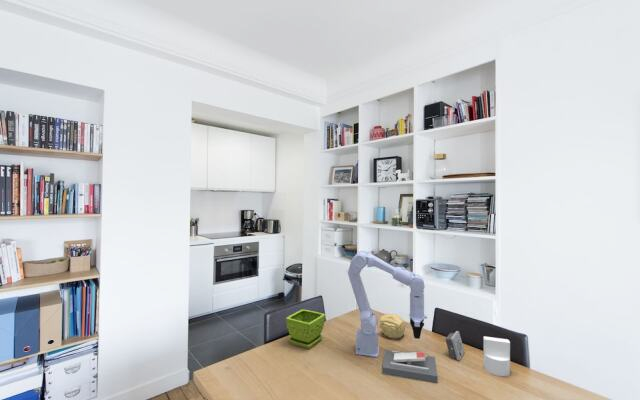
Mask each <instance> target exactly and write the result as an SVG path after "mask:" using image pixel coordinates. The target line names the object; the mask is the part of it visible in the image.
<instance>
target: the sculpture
mask: <svg viewBox="0 0 640 400" xmlns="http://www.w3.org/2000/svg"><path fill="white" fill-rule="evenodd" d="M379 327H380V328H381V331H382V333H383V334H384V335H385V336H386V338H390V339H394V340H395V339H396V340H397V339H400V338H402V337H403V335H404V334H405V332H406V324H405V320H404V319H403V317H401V316H400V315H398V314H396V313H386V314H383V315H381V316H380V320H379Z"/></svg>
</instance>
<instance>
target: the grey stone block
mask: <svg viewBox="0 0 640 400" xmlns="http://www.w3.org/2000/svg"><path fill="white" fill-rule="evenodd" d="M445 343H446V346H447V347H446V348H447V350H448V353H449V357H450V359H456V360H457V361H458V362H460V361H461V359H462V358H463V356H464V355H465V353H466V351H465V346H464V344H463V340H462V337H461V334H460V331H459V330H456V331H455V332H450V333H449V334H448V335H447V336H446V337H445Z"/></svg>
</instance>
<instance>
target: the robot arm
mask: <svg viewBox="0 0 640 400" xmlns="http://www.w3.org/2000/svg"><path fill="white" fill-rule="evenodd" d="M366 266H367V268H371V267H373V268H374V267H375V268H378V269H380V270H382V271H384V272H387V273H388V274H390V275H392V279H394V280H396V281H397V282H399V283H401V284H403V285H405V286H407V287H409V288H410V291H409V292H410V293H409V315H408V316H409V324H410V326H411V329H412V333H413V334H412V335H413V337H414V339H419V340H420V339H421V333H422V330H423V328H424V325H425V322H424V320H425V319H428V315H426V314H425V294H424V293H425V291H424V290H425V287H426V286H425V281H424V278H423V277H422V276H420V274H417V273H415V272H411V271H409V270H406V268H405V267H404V266H402V267H401V266H397V267H396V266H393V265H391V263H390V264H389V263H388V262H386V261H385V260H382V259H381V258H379V257H377V256H375V255H374V254H372V253H369V252H367V251H365V250H360V251H358V252H357V253H356V254H355V255H354V256H353V257H352V259H351V260H350V263H349V268H348V271H347V275H348V279H349V283H350V284H351V285H350V286H351V289H352V292H353V294H354V298H355V301H356V305H357V307H358V310H359V311H358V312H359V318H360V329H357V330H356V336H355V354H356V355H361V356H366V357H372V358H378V357H379V352H380V347H379V345H378V344H379V342H378V341H379V340H378V339H379V335H378V334H379V333H378V332H379V331H378V329H377V324H378V322H379V321H378V317H377V315H376V314H375V313H374V311H373V309H372V307H371V305H370V302H369V299H368V295H367V293H366V290H365V287H364V284H363V281H362V278H361V277H362V276H361V275H360V274H361V272H362V270H363V269H364V268H366Z"/></svg>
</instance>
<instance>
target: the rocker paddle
mask: <svg viewBox="0 0 640 400" xmlns="http://www.w3.org/2000/svg"><path fill="white" fill-rule="evenodd" d="M408 352H409V353H407V352H405V353H394V362H407V360H411V361H425V355H426V354H425V353H426V352H425V351H413V352H412V351H411V352H410V351H408Z"/></svg>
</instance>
